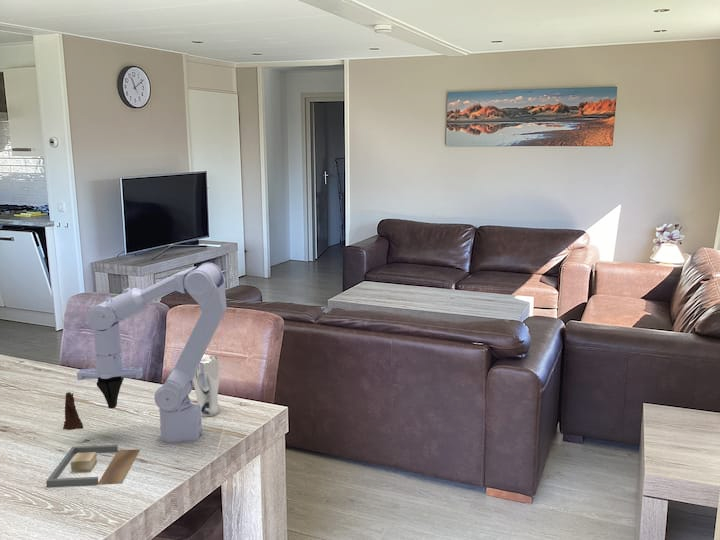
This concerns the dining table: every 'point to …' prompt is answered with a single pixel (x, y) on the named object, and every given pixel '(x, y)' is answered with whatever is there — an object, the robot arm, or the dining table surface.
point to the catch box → (53, 480)
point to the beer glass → (207, 385)
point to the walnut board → (119, 467)
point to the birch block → (83, 462)
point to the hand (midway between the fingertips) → (112, 406)
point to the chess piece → (71, 414)
